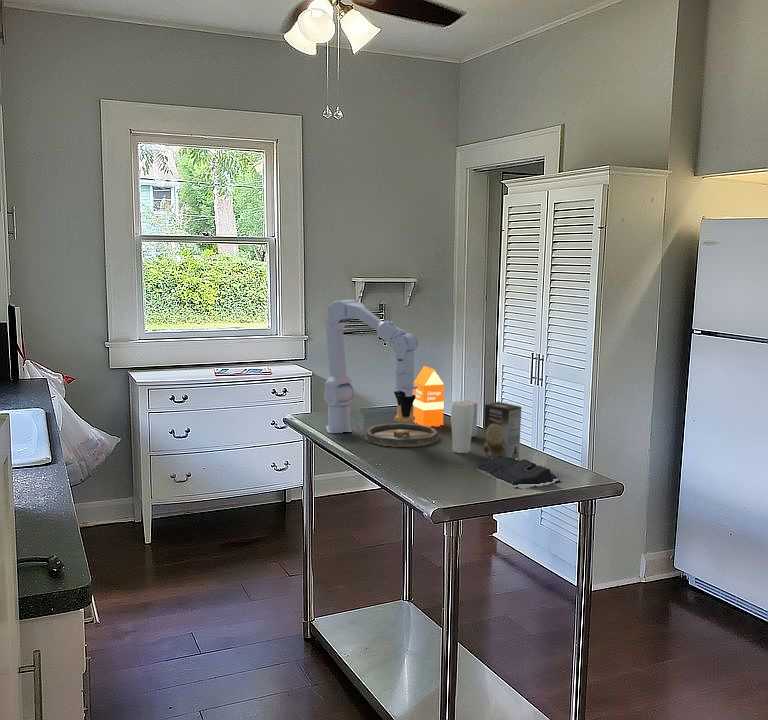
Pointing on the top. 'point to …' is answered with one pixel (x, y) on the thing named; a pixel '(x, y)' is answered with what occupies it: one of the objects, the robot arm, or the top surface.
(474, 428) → the supplement box
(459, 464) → the top surface
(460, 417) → the drinking glass
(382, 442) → the wooden tray
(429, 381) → the orange juice
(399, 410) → the planet gear
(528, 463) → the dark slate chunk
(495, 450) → the coffee box
